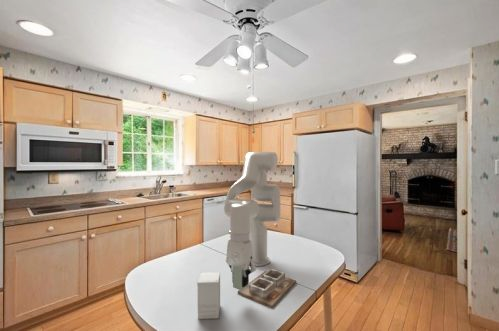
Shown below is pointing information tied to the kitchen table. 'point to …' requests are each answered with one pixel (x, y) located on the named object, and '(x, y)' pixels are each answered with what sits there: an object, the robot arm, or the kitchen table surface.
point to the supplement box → (208, 295)
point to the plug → (238, 278)
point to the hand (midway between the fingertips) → (240, 283)
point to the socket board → (268, 287)
